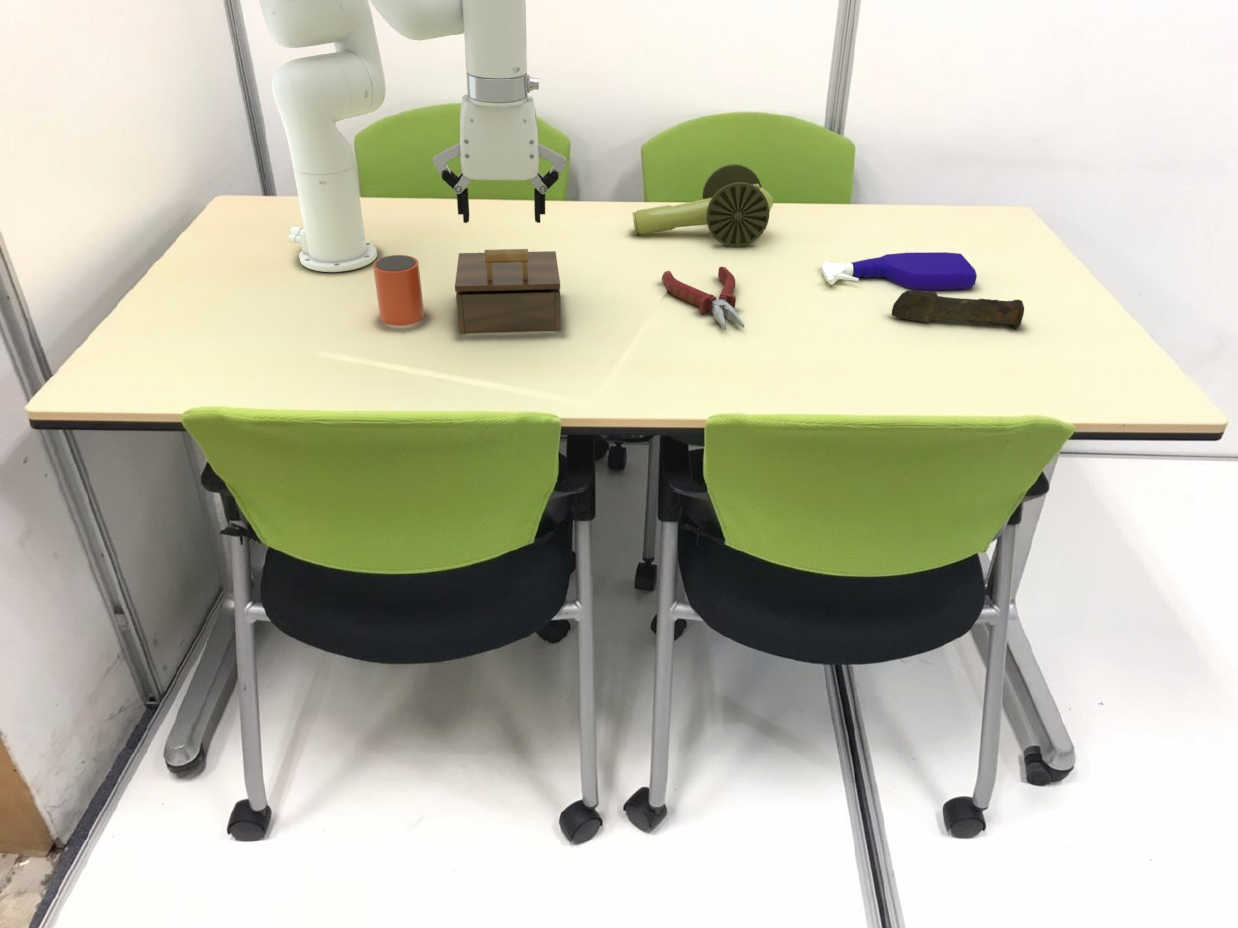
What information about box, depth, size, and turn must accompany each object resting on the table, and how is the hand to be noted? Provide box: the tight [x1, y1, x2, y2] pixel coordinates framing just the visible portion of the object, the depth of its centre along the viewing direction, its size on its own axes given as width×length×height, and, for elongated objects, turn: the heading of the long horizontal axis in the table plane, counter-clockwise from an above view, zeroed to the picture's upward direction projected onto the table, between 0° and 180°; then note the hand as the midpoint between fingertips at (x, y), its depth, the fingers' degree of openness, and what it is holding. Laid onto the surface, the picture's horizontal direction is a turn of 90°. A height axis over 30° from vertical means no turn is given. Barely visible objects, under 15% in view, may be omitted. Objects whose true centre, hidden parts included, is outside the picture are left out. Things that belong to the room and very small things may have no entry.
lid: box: [454, 248, 561, 292], centre depth 134 cm, size 14×15×5 cm
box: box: [455, 288, 562, 335], centre depth 138 cm, size 13×15×7 cm
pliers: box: [661, 266, 745, 331], centre depth 144 cm, size 12×20×3 cm, turn 14°
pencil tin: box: [372, 254, 425, 327], centre depth 136 cm, size 6×6×9 cm
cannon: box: [632, 163, 774, 248], centre depth 166 cm, size 25×12×11 cm, turn 90°
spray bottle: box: [820, 251, 978, 291], centre depth 154 cm, size 3×11×24 cm
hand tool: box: [890, 289, 1025, 329], centre depth 141 cm, size 19×4×5 cm, turn 82°
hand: (502, 219), depth 126 cm, fingers open, 9 cm apart
